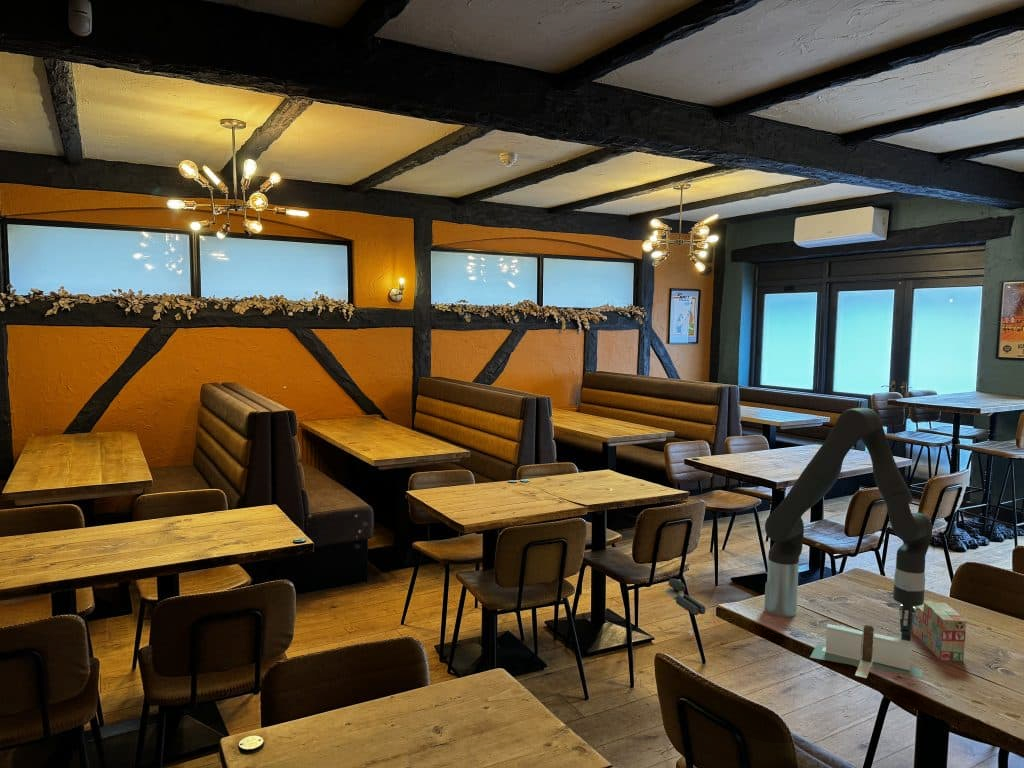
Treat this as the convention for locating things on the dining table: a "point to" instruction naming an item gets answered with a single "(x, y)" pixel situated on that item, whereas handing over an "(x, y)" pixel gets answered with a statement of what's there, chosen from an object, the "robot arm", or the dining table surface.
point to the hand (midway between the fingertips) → (905, 644)
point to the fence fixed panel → (844, 641)
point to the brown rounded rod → (867, 643)
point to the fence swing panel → (892, 651)
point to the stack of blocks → (940, 630)
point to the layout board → (860, 663)
